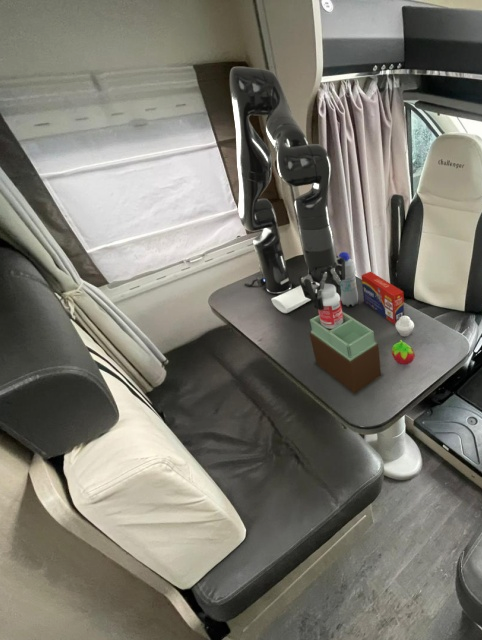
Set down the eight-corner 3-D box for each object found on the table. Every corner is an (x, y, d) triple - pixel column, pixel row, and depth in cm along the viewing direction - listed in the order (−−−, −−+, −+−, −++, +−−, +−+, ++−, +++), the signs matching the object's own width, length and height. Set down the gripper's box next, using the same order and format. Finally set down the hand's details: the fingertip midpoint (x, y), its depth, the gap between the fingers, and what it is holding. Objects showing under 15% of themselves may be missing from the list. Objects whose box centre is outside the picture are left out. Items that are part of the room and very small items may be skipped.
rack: (316, 363, 110) (305, 319, 99) (342, 347, 116) (335, 304, 105) (354, 394, 101) (347, 349, 90) (380, 375, 107) (377, 331, 95)
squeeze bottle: (273, 306, 133) (269, 295, 129) (316, 285, 144) (314, 273, 140) (288, 317, 128) (285, 305, 125) (332, 293, 139) (330, 282, 136)
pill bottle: (337, 331, 97) (331, 296, 90) (317, 327, 99) (309, 292, 91) (347, 318, 102) (342, 284, 94) (327, 314, 103) (321, 280, 96)
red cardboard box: (404, 320, 127) (403, 291, 119) (395, 324, 125) (394, 296, 117) (372, 298, 137) (370, 271, 129) (364, 302, 135) (361, 275, 127)
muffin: (392, 332, 122) (391, 315, 117) (406, 325, 124) (406, 308, 120) (403, 341, 118) (402, 324, 113) (417, 334, 121) (418, 317, 116)
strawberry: (403, 376, 106) (402, 350, 100) (388, 362, 111) (386, 337, 104) (418, 367, 109) (418, 342, 102) (403, 354, 113) (402, 329, 107)
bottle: (356, 309, 132) (350, 258, 118) (338, 307, 133) (330, 256, 119) (361, 299, 136) (356, 249, 123) (344, 297, 137) (337, 247, 124)
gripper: (327, 228, 90) (336, 286, 102) (283, 250, 81) (298, 311, 93) (350, 235, 87) (357, 294, 99) (307, 259, 79) (320, 321, 90)
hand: (328, 302), depth 96 cm, fingers closed on pill bottle, 6 cm apart
